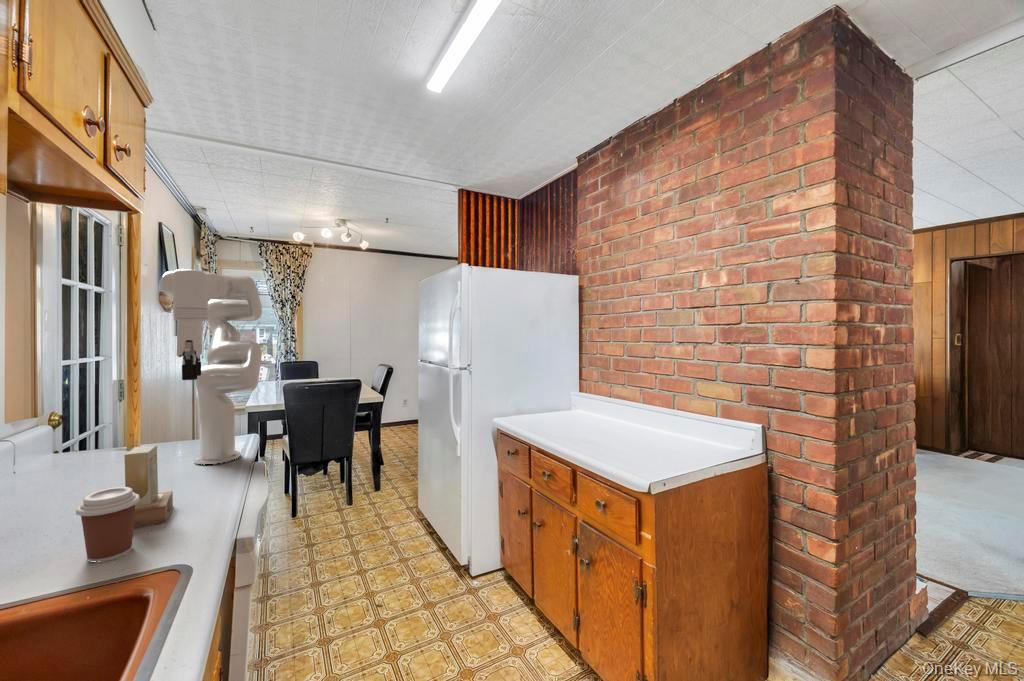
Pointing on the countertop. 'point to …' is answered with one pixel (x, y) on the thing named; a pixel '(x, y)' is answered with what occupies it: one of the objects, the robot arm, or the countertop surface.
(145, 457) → the skincare box
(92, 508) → the coffee cup
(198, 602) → the countertop surface
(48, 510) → the countertop surface
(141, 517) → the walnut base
